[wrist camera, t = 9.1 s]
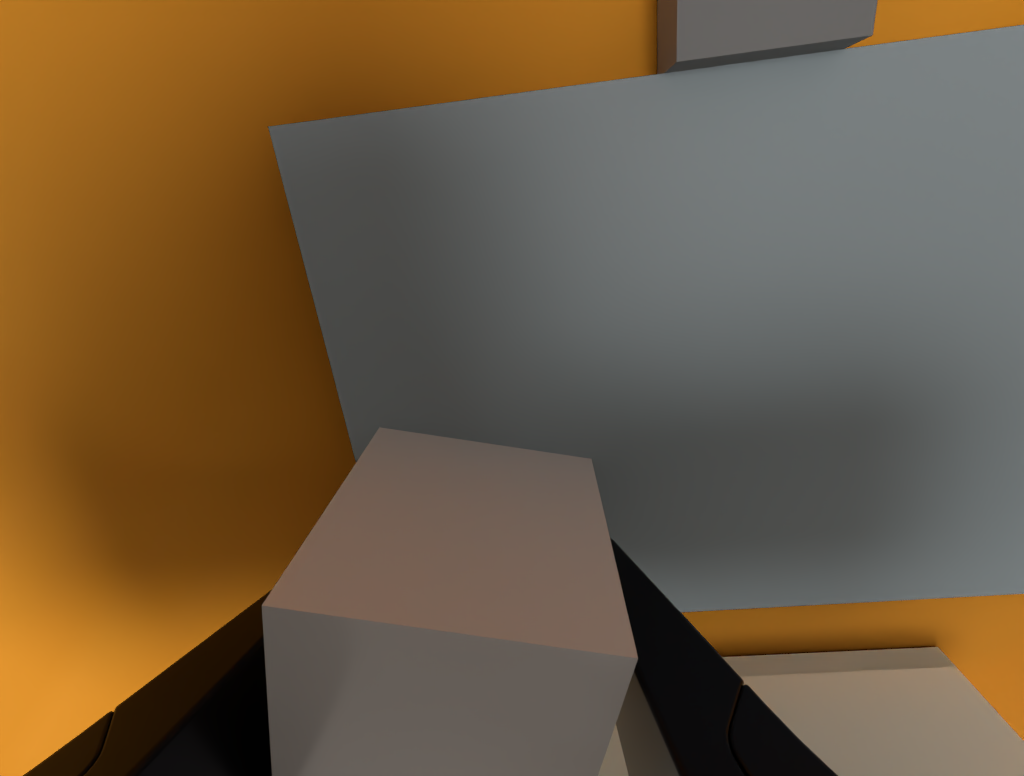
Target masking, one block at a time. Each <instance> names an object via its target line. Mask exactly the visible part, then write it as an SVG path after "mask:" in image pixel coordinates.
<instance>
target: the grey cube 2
mask: <svg viewBox="0 0 1024 776" xmlns="http://www.w3.org/2000/svg"><path fill="white" fill-rule="evenodd" d="M262 619H263V636H264V652H265V669H266V685H267V701H268V718H269V734H270V751H271V767H272V776H598V774H599V771H600V768H601V765H602V762H603V759H604V757H605V754H606V751H607V748H608V745H609V742H610V739H611V736H612V733H613V730H614V727H615V725H616V722H617V719H618V716H619V713H620V710H621V707H622V704H623V701H624V698H625V695H626V692H627V690H628V687H629V684H630V681H631V678H632V675H633V672H634V669H635V666H636V663H637V660H638V656H637V651H636V647H635V643H634V638H633V634H632V630H631V626H630V621H629V617H628V613H627V609H626V604H625V600H624V596H623V591H622V587H621V583H620V579H619V574H618V570H617V566H616V562H615V557H614V553H613V549H612V544H611V540H610V536H609V532H608V527H607V523H606V519H605V515H604V510H603V506H602V502H601V497H600V493H599V489H598V485H597V480H596V476H595V472H594V468H593V463H592V459H589V458H582V457H576V456H569V455H562V454H556V453H549V452H542V451H535V450H529V449H522V448H515V447H509V446H502V445H495V444H488V443H482V442H475V441H468V440H461V439H455V438H448V437H441V436H435V435H428V434H421V433H414V432H408V431H401V430H394V429H387V428H381V427H379V429H378V430H377V432H376V433H375V435H374V436H373V438H372V439H371V441H370V443H369V444H368V446H367V447H366V449H365V450H364V452H363V453H362V455H361V456H360V458H359V459H358V461H357V462H356V464H355V465H354V467H353V468H352V470H351V471H350V473H349V474H348V476H347V477H346V479H345V480H344V482H343V483H342V485H341V486H340V488H339V489H338V491H337V492H336V494H335V495H334V497H333V498H332V500H331V501H330V503H329V505H328V506H327V508H326V509H325V511H324V512H323V514H322V515H321V517H320V518H319V520H318V521H317V523H316V524H315V526H314V527H313V529H312V530H311V532H310V533H309V535H308V536H307V538H306V539H305V541H304V542H303V544H302V545H301V547H300V548H299V550H298V551H297V553H296V554H295V556H294V557H293V559H292V560H291V562H290V563H289V565H288V566H287V568H286V570H285V571H284V573H283V574H282V576H281V577H280V579H279V580H278V582H277V583H276V585H275V586H274V588H273V589H272V591H271V592H270V594H269V595H268V597H267V598H266V600H265V601H264V603H263V604H262Z"/></svg>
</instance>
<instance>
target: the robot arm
mask: <svg viewBox="0 0 1024 776" xmlns="http://www.w3.org/2000/svg"><path fill="white" fill-rule="evenodd" d="M610 540H611V544H612V549H613V553H614V557H615V562H616V566H617V570H618V574H619V579H620V583H621V587H622V591H623V596H624V600H625V604H626V609H627V613H628V617H629V621H630V626H631V630H632V634H633V638H634V643H635V647H636V651H637V656H638V660H637V663H636V666H635V669H634V672H633V675H632V678H631V681H630V684H629V687H628V690H627V692H626V695H625V698H624V701H623V704H622V707H621V710H620V713H619V716H618V719H617V722H616V727H617V731H618V735H619V739H620V743H621V747H622V751H623V755H624V759H625V763H626V767H627V771H628V775H629V776H838V775H837V774H836V773H835V772H834V771H833V770H832V769H830V768H829V767H828V766H827V765H826V764H825V763H824V762H823V761H822V760H821V759H820V758H819V757H818V756H817V755H816V754H815V753H814V752H812V751H811V750H810V749H809V748H808V747H807V746H806V745H805V744H804V743H803V742H802V741H801V740H800V739H799V738H798V737H797V736H796V735H795V734H794V733H793V732H792V731H791V730H790V729H789V728H788V727H787V726H786V725H785V724H784V723H783V722H782V721H781V720H780V718H779V717H778V716H777V715H776V714H775V713H774V712H773V711H772V710H771V709H770V708H769V707H768V706H767V705H766V704H765V703H764V702H763V701H762V700H761V699H760V697H759V696H758V695H757V694H756V693H755V692H754V691H753V690H752V689H751V688H750V686H748V685H746V684H745V685H744V681H743V679H742V678H741V677H740V676H739V675H738V674H737V673H736V672H735V671H734V670H733V668H732V667H731V666H730V665H729V664H728V663H727V662H726V661H725V660H724V659H723V658H722V657H721V655H720V654H719V653H718V652H717V651H716V650H715V649H714V648H713V647H712V646H711V645H710V644H709V643H708V641H707V640H706V639H705V638H704V637H703V636H702V635H701V634H700V633H699V632H698V631H697V630H696V628H695V627H694V626H693V625H692V624H691V623H690V622H689V621H688V620H687V619H686V618H685V617H684V616H683V614H682V613H681V612H680V611H679V610H678V609H677V608H676V607H675V606H674V605H673V604H672V603H671V601H670V600H669V599H668V598H667V597H666V596H665V595H664V594H663V593H662V592H661V591H660V590H659V589H658V587H657V586H656V585H655V584H654V583H653V582H652V581H651V580H650V579H649V578H648V577H647V576H646V574H645V573H644V572H643V571H642V570H641V569H640V568H639V567H638V566H637V565H636V564H635V563H634V561H633V560H632V559H631V558H630V557H629V556H628V555H627V554H626V553H625V552H624V551H623V550H622V549H621V547H620V546H619V545H618V544H617V543H616V542H615V541H614V540H613V539H611V538H610ZM271 591H272V590H271ZM271 591H269V592H268V593H267V594H265V595H264V596H263V597H261V598H260V599H259V600H257V601H256V602H255V603H253V604H252V605H251V606H250V607H248V608H247V609H246V610H244V611H243V612H242V613H240V614H239V615H238V616H236V617H235V618H234V619H232V620H231V621H230V622H228V623H227V624H226V625H224V626H223V627H222V628H220V629H219V630H218V631H216V632H215V633H214V634H212V635H211V636H210V637H208V638H207V639H206V640H204V641H203V642H202V643H200V644H199V645H198V646H196V647H195V648H194V649H192V650H191V651H190V652H188V653H187V654H186V655H184V656H183V657H182V658H180V659H179V660H178V661H176V662H175V663H174V664H173V665H171V666H170V667H169V668H167V669H166V670H165V671H163V672H162V673H161V674H159V675H158V676H157V677H155V678H154V679H153V680H151V681H150V682H149V683H147V684H146V685H145V686H143V687H142V688H141V689H139V690H138V691H137V692H135V693H134V694H133V695H131V696H130V697H129V698H127V699H126V700H125V701H123V702H122V703H121V704H119V705H118V706H117V707H116V708H115V711H114V712H112V711H111V712H109V713H107V714H106V715H105V716H103V717H102V718H101V719H99V720H98V721H97V722H95V723H94V724H93V725H91V726H90V727H89V728H87V729H86V730H85V731H84V732H82V733H81V734H79V735H78V736H77V737H75V738H74V739H73V740H71V741H70V742H69V743H67V744H66V745H64V746H63V747H62V748H60V749H59V750H58V751H56V752H55V753H54V754H52V755H51V756H50V757H48V758H47V759H45V760H44V761H43V762H41V763H40V764H39V765H37V766H36V767H34V768H33V769H32V770H30V771H29V772H27V773H26V774H24V775H23V776H272V767H271V751H270V734H269V718H268V701H267V685H266V669H265V652H264V636H263V619H262V604H263V603H264V601H265V600H266V598H267V597H268V595H269V594H270V592H271Z"/></svg>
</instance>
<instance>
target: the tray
mask: <svg viewBox="0 0 1024 776" xmlns="http://www.w3.org/2000/svg"><path fill="white" fill-rule="evenodd" d="M722 658H723V659H724V660H725V661H726V662H727V663H728V664H729V665H730V666H731V667H732V668H733V670H734V671H735V672H736V673H737V674H738V675H739V676H740V677H741V678H742V679H743V681H744V685H745V684H746V685H748V686H750V688H751V689H752V690H753V691H754V692H755V693H756V694H757V695H758V696H759V697H760V699H761V700H762V701H763V702H764V703H765V704H766V705H767V706H768V707H769V708H770V709H771V710H772V711H773V712H774V713H775V714H776V715H777V716H778V717H779V718H780V720H781V721H782V722H783V723H784V724H785V725H786V726H787V727H788V728H789V729H790V730H791V731H792V732H793V733H794V734H795V735H796V736H797V737H798V738H799V739H800V740H801V741H802V742H803V743H804V744H805V745H806V746H807V747H808V748H809V749H810V750H811V751H812V752H814V753H815V754H816V755H817V756H818V757H819V758H820V759H821V760H822V761H823V762H824V763H825V764H826V765H827V766H828V767H829V768H830V769H832V770H833V771H834V772H835V773H836V774H837V775H838V776H1024V741H1023V740H1022V739H1021V738H1020V737H1019V735H1018V734H1017V733H1016V732H1015V731H1014V730H1013V729H1012V728H1011V727H1010V726H1009V724H1008V723H1007V722H1006V721H1005V720H1004V719H1003V718H1002V717H1001V716H1000V715H999V714H998V712H997V711H996V710H995V709H994V708H993V707H992V706H991V705H990V704H989V703H988V701H987V700H986V699H985V698H984V697H983V696H982V695H981V694H980V693H979V692H978V690H977V689H976V688H975V687H974V686H973V685H972V684H971V683H970V682H969V681H968V679H967V678H966V677H965V676H964V675H963V674H962V673H961V672H960V671H959V670H958V668H957V667H956V666H955V665H954V664H953V663H952V662H951V661H950V660H949V659H948V657H947V656H946V655H945V654H944V653H943V652H942V651H941V650H940V649H939V648H938V647H925V648H904V649H883V650H862V651H841V652H819V653H798V654H777V655H756V656H735V657H722ZM598 776H629V775H628V771H627V767H626V763H625V759H624V755H623V751H622V747H621V743H620V739H619V735H618V731H617V727H616V725H615V727H614V730H613V733H612V736H611V739H610V742H609V745H608V748H607V751H606V754H605V757H604V759H603V762H602V765H601V768H600V771H599V774H598Z"/></svg>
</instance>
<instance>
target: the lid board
mask: <svg viewBox="0 0 1024 776" xmlns="http://www.w3.org/2000/svg"><path fill="white" fill-rule="evenodd" d="M876 7H877V0H657V74H655V75H648V76H640V77H633V78H626V79H618V80H611V81H603V82H596V83H588V84H581V85H574V86H566V87H559V88H551V89H544V90H537V91H529V92H522V93H514V94H507V95H500V96H492V97H485V98H477V99H470V100H462V101H455V102H448V103H440V104H433V105H425V106H418V107H410V108H403V109H396V110H388V111H381V112H373V113H366V114H359V115H351V116H344V117H336V118H329V119H322V120H314V121H307V122H299V123H292V124H284V125H277V126H270V127H268V128H269V132H270V136H271V140H272V144H273V147H274V151H275V155H276V159H277V163H278V167H279V170H280V174H281V178H282V182H283V186H284V189H285V193H286V197H287V201H288V205H289V209H290V212H291V216H292V220H293V224H294V228H295V231H296V235H297V239H298V243H299V247H300V251H301V254H302V258H303V262H304V266H305V270H306V274H307V277H308V281H309V285H310V289H311V293H312V296H313V300H314V304H315V308H316V312H317V316H318V319H319V323H320V327H321V331H322V335H323V339H324V342H325V346H326V350H327V354H328V358H329V361H330V365H331V369H332V373H333V377H334V381H335V384H336V388H337V392H338V396H339V400H340V403H341V407H342V411H343V415H344V419H345V423H346V426H347V430H348V434H349V438H350V442H351V446H352V449H353V453H354V457H355V461H356V462H357V461H358V459H359V458H360V456H361V455H362V453H363V452H364V450H365V449H366V447H367V446H368V444H369V443H370V441H371V439H372V438H373V436H374V435H375V433H376V432H377V430H378V429H379V427H381V428H387V429H394V430H401V431H408V432H414V433H421V434H428V435H435V436H441V437H448V438H455V439H461V440H468V441H475V442H482V443H488V444H495V445H502V446H509V447H515V448H522V449H529V450H535V451H542V452H549V453H556V454H562V455H569V456H576V457H582V458H589V459H592V463H593V468H594V472H595V476H596V480H597V485H598V489H599V493H600V497H601V502H602V506H603V510H604V515H605V519H606V523H607V527H608V532H609V536H610V538H611V539H613V540H614V541H615V542H616V543H617V544H618V545H619V546H620V547H621V549H622V550H623V551H624V552H625V553H626V554H627V555H628V556H629V557H630V558H631V559H632V560H633V561H634V563H635V564H636V565H637V566H638V567H639V568H640V569H641V570H642V571H643V572H644V573H645V574H646V576H647V577H648V578H649V579H650V580H651V581H652V582H653V583H654V584H655V585H656V586H657V587H658V589H659V590H660V591H661V592H662V593H663V594H664V595H665V596H666V597H667V598H668V599H669V600H670V601H671V603H672V604H673V605H674V606H675V607H676V608H677V609H678V610H679V611H680V612H694V611H713V610H731V609H750V608H768V607H787V606H805V605H823V604H842V603H860V602H879V601H897V600H916V599H934V598H952V597H971V596H989V595H1008V594H1024V25H1019V26H1011V27H1004V28H996V29H989V30H982V31H974V32H967V33H959V34H952V35H944V36H937V37H930V38H922V39H915V40H907V41H900V42H893V43H885V44H878V45H870V46H863V47H855V48H848V49H845V48H847V47H849V46H851V45H853V44H855V43H857V42H859V41H861V40H864V39H866V38H868V37H870V36H872V35H873V29H874V21H875V14H876Z"/></svg>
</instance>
